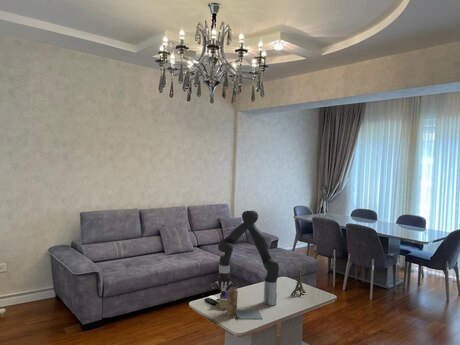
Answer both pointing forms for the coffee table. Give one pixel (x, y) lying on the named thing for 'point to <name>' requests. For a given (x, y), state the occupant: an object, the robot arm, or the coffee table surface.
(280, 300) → the coffee table surface
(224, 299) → the toy sofa
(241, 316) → the mat
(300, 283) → the eiffel tower
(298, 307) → the coffee table surface
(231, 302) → the walnut block
